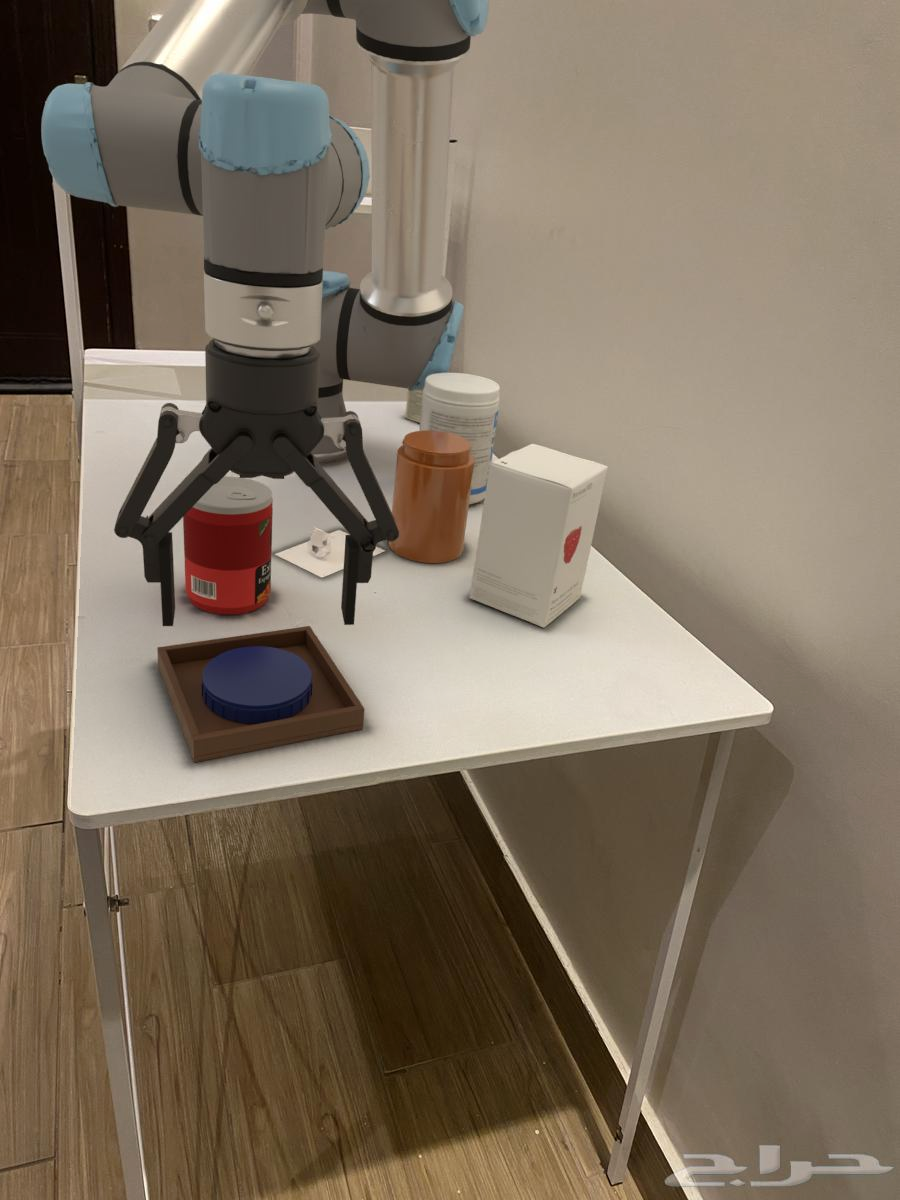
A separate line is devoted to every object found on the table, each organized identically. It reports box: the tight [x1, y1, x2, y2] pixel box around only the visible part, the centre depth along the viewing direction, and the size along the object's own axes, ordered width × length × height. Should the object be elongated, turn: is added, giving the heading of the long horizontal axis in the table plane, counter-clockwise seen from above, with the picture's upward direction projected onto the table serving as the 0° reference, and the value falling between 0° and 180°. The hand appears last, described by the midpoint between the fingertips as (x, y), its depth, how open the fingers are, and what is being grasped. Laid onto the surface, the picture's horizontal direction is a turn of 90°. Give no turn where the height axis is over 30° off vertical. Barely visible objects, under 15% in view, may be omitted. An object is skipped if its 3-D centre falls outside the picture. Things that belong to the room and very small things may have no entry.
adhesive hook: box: [306, 526, 335, 559], centre depth 97 cm, size 3×3×3 cm
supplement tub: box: [419, 372, 501, 506], centre depth 115 cm, size 10×10×15 cm
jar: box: [388, 430, 475, 564], centre depth 100 cm, size 8×8×12 cm
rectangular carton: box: [469, 443, 609, 628], centre depth 91 cm, size 9×9×15 cm
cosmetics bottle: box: [405, 369, 451, 424], centre depth 142 cm, size 5×4×10 cm
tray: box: [156, 625, 365, 763], centre depth 73 cm, size 13×13×2 cm
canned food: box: [182, 475, 274, 616], centre depth 85 cm, size 8×8×11 cm
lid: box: [201, 646, 313, 724], centre depth 73 cm, size 9×9×2 cm
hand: (260, 617), depth 71 cm, fingers open, 13 cm apart
